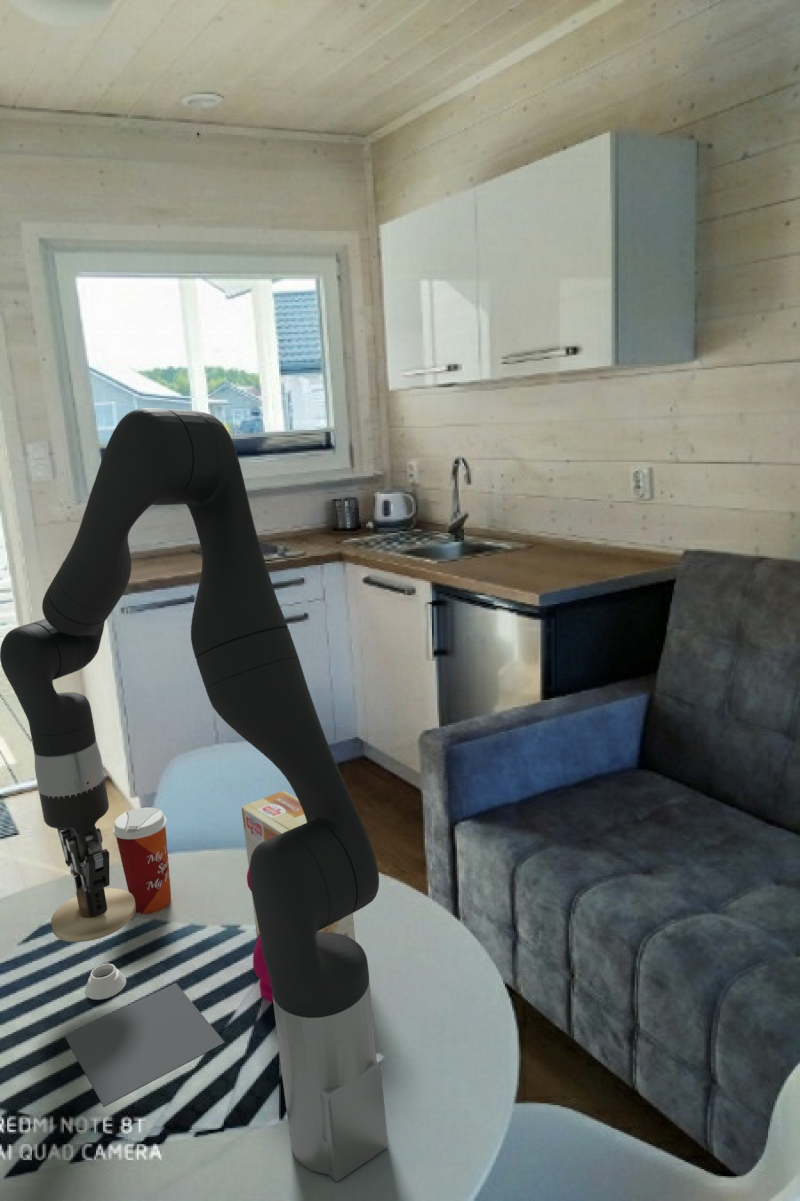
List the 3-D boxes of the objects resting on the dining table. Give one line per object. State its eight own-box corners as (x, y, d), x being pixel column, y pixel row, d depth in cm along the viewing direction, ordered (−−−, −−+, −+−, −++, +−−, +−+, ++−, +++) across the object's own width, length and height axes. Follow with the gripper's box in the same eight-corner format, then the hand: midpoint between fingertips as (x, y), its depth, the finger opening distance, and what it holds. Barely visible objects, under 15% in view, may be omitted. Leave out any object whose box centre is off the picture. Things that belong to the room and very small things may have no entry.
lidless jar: (78, 1002, 111) (114, 1006, 110) (74, 982, 110) (110, 985, 109) (99, 977, 116) (134, 980, 114) (96, 957, 115) (130, 960, 114)
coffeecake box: (359, 962, 114) (347, 824, 110) (313, 987, 110) (298, 845, 106) (298, 914, 126) (284, 788, 121) (254, 935, 122) (238, 805, 117)
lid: (148, 918, 110) (143, 889, 109) (66, 952, 104) (61, 922, 103) (119, 886, 117) (114, 859, 116) (42, 916, 112) (36, 888, 111)
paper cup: (170, 917, 128) (157, 828, 124) (118, 920, 128) (103, 832, 125) (184, 887, 135) (172, 803, 132) (134, 890, 136) (121, 806, 132)
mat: (225, 1046, 101) (224, 1042, 101) (104, 1110, 93) (103, 1106, 93) (176, 986, 112) (176, 982, 112) (64, 1039, 104) (64, 1035, 104)
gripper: (122, 788, 103) (142, 919, 107) (84, 754, 114) (104, 874, 118) (56, 810, 99) (80, 945, 103) (23, 772, 110) (46, 895, 114)
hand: (92, 906), depth 110 cm, fingers closed on lid, 3 cm apart
